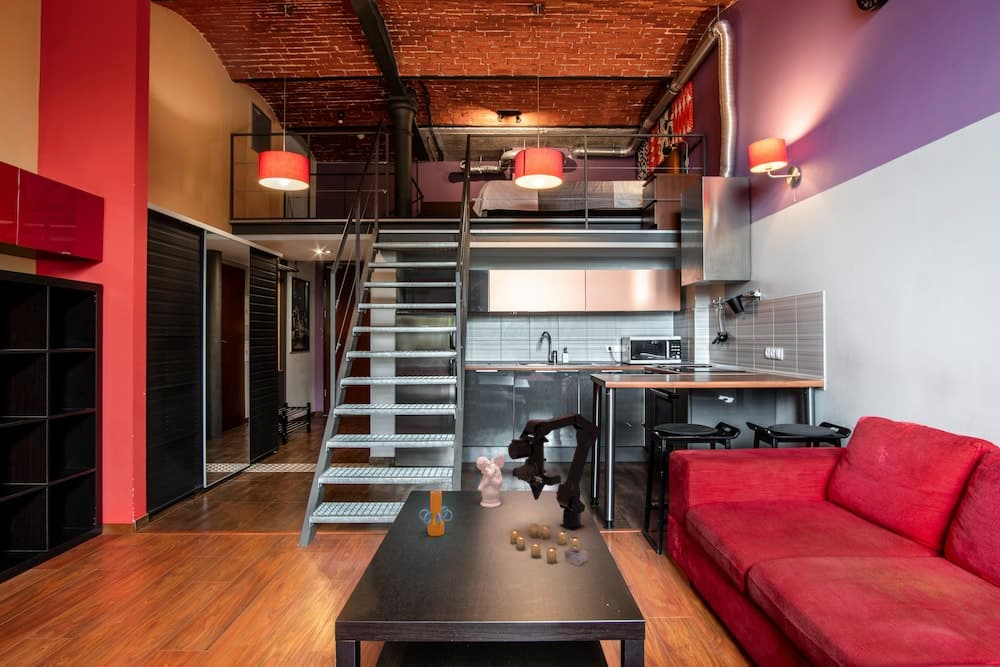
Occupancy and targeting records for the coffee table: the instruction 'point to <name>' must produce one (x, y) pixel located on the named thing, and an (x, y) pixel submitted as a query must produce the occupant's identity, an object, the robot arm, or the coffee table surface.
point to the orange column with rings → (436, 515)
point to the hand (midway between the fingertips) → (536, 499)
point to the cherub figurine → (490, 480)
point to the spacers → (545, 534)
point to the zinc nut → (576, 556)
